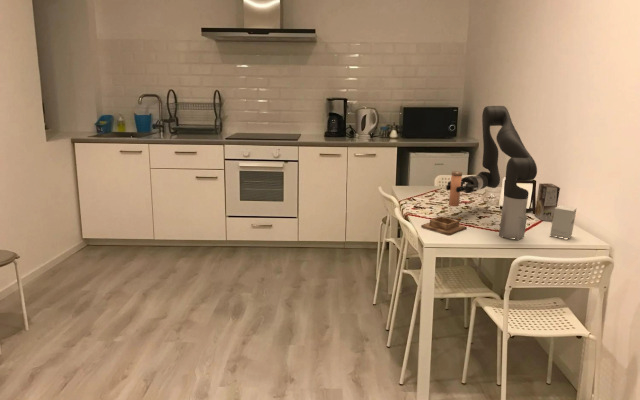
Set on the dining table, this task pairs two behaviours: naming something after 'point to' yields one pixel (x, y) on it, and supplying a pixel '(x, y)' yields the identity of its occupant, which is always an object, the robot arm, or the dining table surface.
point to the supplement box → (563, 221)
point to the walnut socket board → (444, 225)
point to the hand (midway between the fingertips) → (452, 188)
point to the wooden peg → (455, 183)
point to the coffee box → (546, 201)
